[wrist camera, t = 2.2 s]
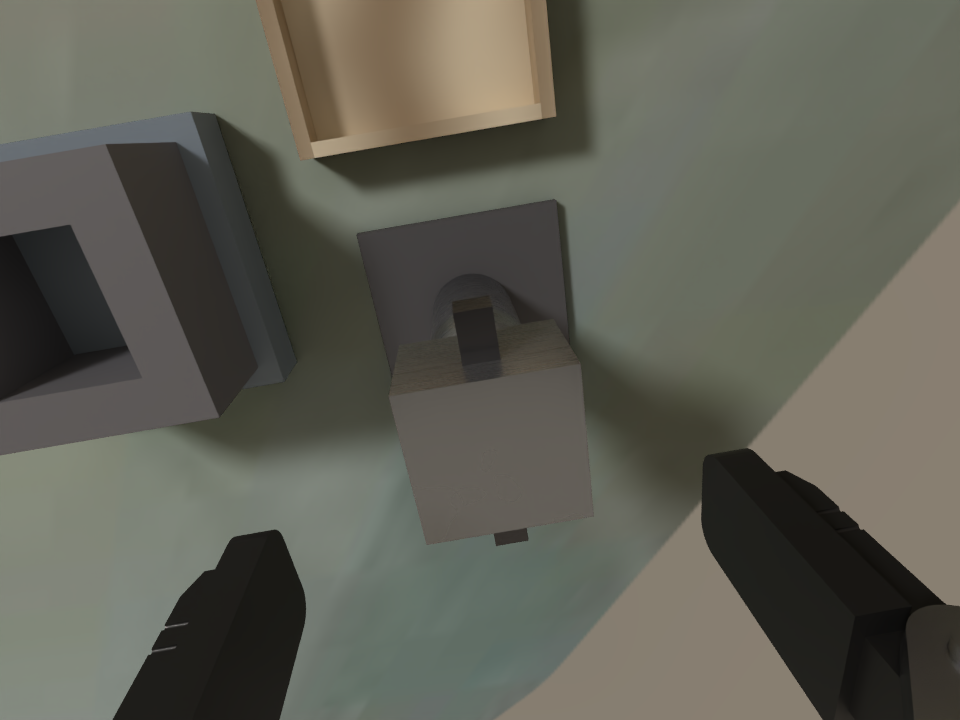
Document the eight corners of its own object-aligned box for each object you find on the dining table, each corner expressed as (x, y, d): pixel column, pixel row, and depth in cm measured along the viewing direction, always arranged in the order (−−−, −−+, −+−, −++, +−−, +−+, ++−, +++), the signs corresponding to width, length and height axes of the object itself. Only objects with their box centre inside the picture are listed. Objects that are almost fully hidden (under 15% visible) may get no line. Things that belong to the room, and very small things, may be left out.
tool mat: (554, 199, 21) (556, 200, 21) (571, 376, 24) (573, 380, 24) (358, 233, 21) (356, 234, 20) (401, 405, 24) (400, 409, 24)
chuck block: (214, 113, 19) (122, 105, 13) (297, 362, 23) (251, 434, 17) (-193, 184, 19) (-454, 204, 13) (-39, 419, 23) (-191, 510, 17)
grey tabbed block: (511, 224, 21) (575, 306, 11) (530, 375, 23) (597, 555, 13) (407, 241, 21) (374, 341, 11) (439, 391, 23) (436, 583, 13)
